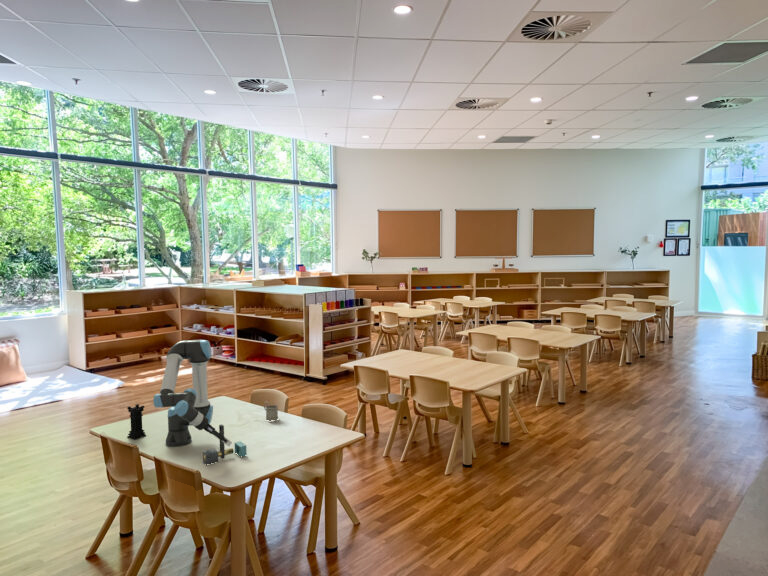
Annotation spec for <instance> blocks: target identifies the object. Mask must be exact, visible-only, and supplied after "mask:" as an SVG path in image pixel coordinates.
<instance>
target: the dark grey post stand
mask: <svg viewBox="0 0 768 576" xmlns="http://www.w3.org/2000/svg"><path fill="white" fill-rule="evenodd" d="M218 429H219V430H218V433H220V434H221V435H222V436H224V437H225V425H223V424H219V425H218ZM232 454H235V449H234V448H233V447H231V448H227V449H225V443H223V442H222V441H221V442H220V441H219V451H218V458H221V459H222V460H223V459H225V456H228V455H232ZM203 458H204V461H205V460H206V459H205V455H204V456H203V455H202V459H203Z"/></svg>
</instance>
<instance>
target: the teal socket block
mask: <svg viewBox="0 0 768 576" xmlns="http://www.w3.org/2000/svg"><path fill="white" fill-rule="evenodd" d="M233 444H234V454H235V453H237V454H238V455H239V456H240V457H239V456H238V455H237V454H236V455H237V456H238V457H239V458H242V457H241V456H245V455H247V454H248V453H247V445H246V444H245V443H244V442H242V441H241V440H240V441H237V442H234V443H233ZM245 457H246V456H245Z"/></svg>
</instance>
